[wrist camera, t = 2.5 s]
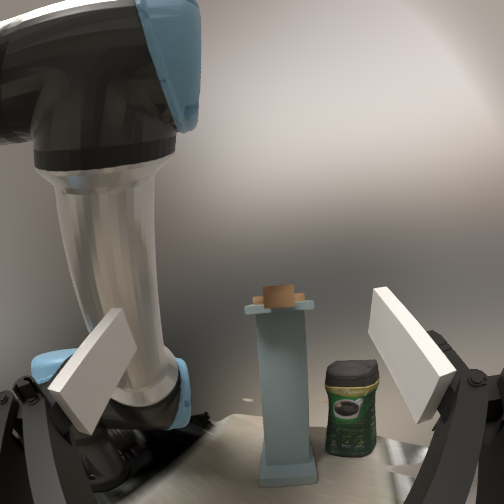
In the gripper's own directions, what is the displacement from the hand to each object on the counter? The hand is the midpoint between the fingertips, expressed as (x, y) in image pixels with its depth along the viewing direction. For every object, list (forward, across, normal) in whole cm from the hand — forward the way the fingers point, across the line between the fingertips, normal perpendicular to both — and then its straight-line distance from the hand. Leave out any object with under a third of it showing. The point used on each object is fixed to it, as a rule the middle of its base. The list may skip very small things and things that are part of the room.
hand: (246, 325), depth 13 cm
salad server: (+22, +3, -11) cm, 25 cm away
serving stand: (+12, +2, -40) cm, 42 cm away
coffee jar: (+13, +14, -41) cm, 46 cm away
